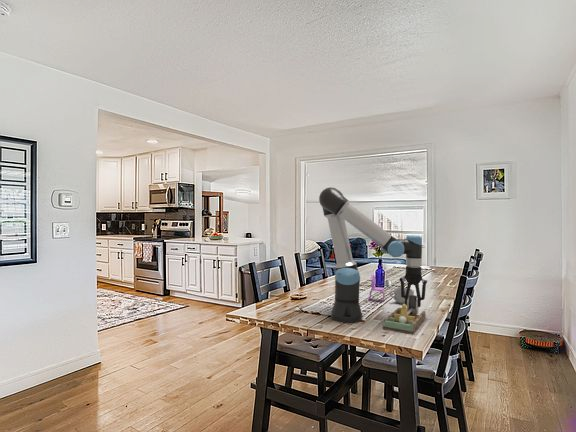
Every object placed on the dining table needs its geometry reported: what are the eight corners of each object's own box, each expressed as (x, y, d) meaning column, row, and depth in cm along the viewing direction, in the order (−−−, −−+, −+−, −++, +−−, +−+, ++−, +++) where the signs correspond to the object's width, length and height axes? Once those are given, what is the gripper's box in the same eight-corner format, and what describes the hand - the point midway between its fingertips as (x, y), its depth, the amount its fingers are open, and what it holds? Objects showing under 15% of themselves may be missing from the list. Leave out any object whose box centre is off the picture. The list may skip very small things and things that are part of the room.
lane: (413, 334, 157) (413, 324, 157) (382, 328, 163) (383, 319, 163) (425, 318, 181) (425, 309, 181) (398, 314, 188) (398, 305, 188)
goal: (413, 331, 157) (413, 325, 157) (382, 326, 163) (383, 320, 163) (416, 326, 163) (417, 321, 163) (387, 321, 170) (387, 316, 170)
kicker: (413, 325, 167) (413, 305, 167) (393, 321, 171) (393, 302, 171) (422, 314, 185) (423, 296, 185) (404, 311, 190) (404, 294, 190)
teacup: (411, 301, 216) (411, 287, 216) (415, 306, 206) (416, 291, 206) (387, 300, 218) (387, 286, 218) (390, 304, 207) (390, 290, 207)
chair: (383, 303, 211) (383, 276, 211) (367, 301, 214) (368, 275, 214) (384, 300, 219) (385, 274, 219) (369, 298, 222) (370, 273, 222)
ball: (404, 326, 167) (403, 323, 165) (397, 322, 169) (396, 319, 167) (408, 320, 168) (407, 316, 166) (401, 316, 171) (400, 313, 168)
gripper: (432, 266, 184) (431, 313, 185) (398, 263, 193) (397, 308, 193) (429, 268, 178) (428, 317, 178) (394, 265, 186) (393, 311, 187)
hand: (412, 312), depth 186 cm, fingers closed on kicker, 4 cm apart
